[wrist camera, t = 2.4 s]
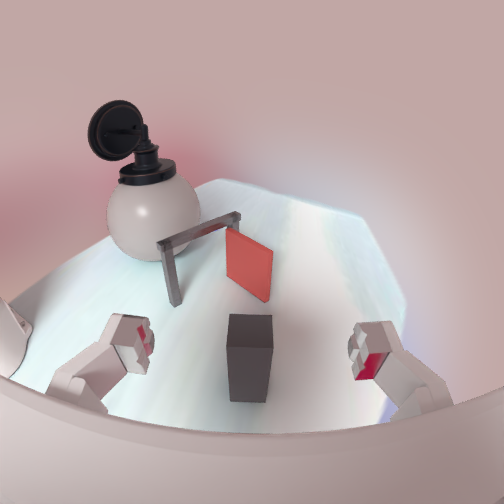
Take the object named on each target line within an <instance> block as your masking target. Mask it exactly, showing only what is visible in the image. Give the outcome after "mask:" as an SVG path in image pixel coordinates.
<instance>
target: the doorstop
mask: <svg viewBox="0 0 504 504" xmlns="http://www.w3.org/2000/svg"><path fill="white" fill-rule="evenodd" d="M226 350H227V365H228V379H229V393H230V401H233V402H266V395H267V389H268V382H269V375H270V368H271V361H272V354H273V329H272V315H246V314H230V316H229V325H228V335H227V345H226Z"/></svg>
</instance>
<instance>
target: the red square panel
mask: <svg viewBox="0 0 504 504" xmlns="http://www.w3.org/2000/svg"><path fill="white" fill-rule="evenodd" d="M272 260H273V251H272V250H270V249H268V248H267V247H265V246H263V245H261V244H259V243H258V242H256V241H254V240H252V239H250V238H249V237H247V236H245V235H243V234H241V233H239V232H238V231H236V230H234V229H232V228H227V229H226V264H227V276H228V277H229V278H231V279H232V280H233V281H235V282H236V283H238V284H239V285H240V286H242V287H243V288H245V289H246V290H247V291H249V292H250V293H252V294H253V295H255V296H256V297H257V298H259V299H260V300H262V301H263V302H265V303H266V302H267V301H269V295H270V284H271V272H272Z"/></svg>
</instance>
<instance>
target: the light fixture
mask: <svg viewBox="0 0 504 504" xmlns="http://www.w3.org/2000/svg"><path fill="white" fill-rule="evenodd" d="M88 142H89V145H90V147H91V149H92V151H93V152H94V153H95V154H96V155H97V156H98V157H100V158H101V159H104V160H107V161H119V160H122V159H124V158H126V157H128V156H129V155H130V154H131V153H134V155H135V162H134V163H131V164H128V165H126V166H124V167H123V168H121V169H120V171H119V173H120V179H118V182H119V184H118V185H117V187H116V188H115V189H114V191H113V193H112V195H111V197H110V199H109V202H108V206H107V214H106V220H107V227H108V230H109V233H110V235H111V237H112V239H113V241H114V242H115V244H116V245H117V246H118V247H119V248H120V249H121V250H122V251H123V252H124V253H126V254H127V255H129V256H131V257H133V258H135V259H138V260H143V261H160V260H162V259H161V254H160V251H159V250H158V249H157V244H156V242H158V241H160V240H163V239H165V238H167V237H170V236H172V235H175V234H177V233H180V232H182V231H185V230H187V229H190V228H192V227H195V226H198V225H199V222H200V204H199V200H198V198H197V195H196V193H195V191H194V189H193V188H192V186H191V185H190V184H189V183H188V182H187V181H186V180H185V179H184V178H183V177H182V176H181V175H179V174H178V173H176V164H175V162H174V161H173V160H170V159H162V158H160V159H159V158H158V152H157V151H158V148H159V146H158V145H154V144H153V143H151V140H150V139H149V137H148V126H147V125H146V124H143V118H142V115H141V113H140V112H139V110H138V109H137V107H136V106H135V105H133V104H131V103H130V102H127V101H124V100H115V101H111V102H108V103H106V104H104V105H103V106H101V107H100V108H99V109H98V110H97V111H96V112H95V113H94V115H93V117H92V118H91V121H90V123H89V127H88ZM191 241H192V240H191ZM191 241H189V242H187V243H184V244H182V245H180V246H177V247H175V248H173V253H174V256H175V255H176V254H178V253H180V252H181V251H182V250H184V249H185V248H186V247H187V246H188V245H189V244H190V242H191Z"/></svg>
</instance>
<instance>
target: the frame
mask: <svg viewBox="0 0 504 504" xmlns="http://www.w3.org/2000/svg"><path fill="white" fill-rule="evenodd" d="M240 220H241V214H240V213H238V212H236V211H234V212H231V213H229V214H226V215H223V216H221V217H218V218H216V219H213V220H210V221H208V222H205V223H203V224H200V225H198V226H195V227H192V228H190V229H187V230H185V231H182V232H180V233H177V234H175V235H172V236H170V237H167V238H165V239H163V240H160V241H158V242H156V244H157V249H158V250H159V251H160V254H161V259H162V265H163V270H164V276H165V281H166V286H167V291H168V296H169V300H170V303H171V304H172V305H173V307H174V308H175V307H177V306H178V305H180V304H182V303H181V297H180V291H179V285H178V279H177V273H176V267H175V260H174V253H173V248H175V247H177V246H180V245H182V244H184V243H187V242H189V241H191V240H194V239H196V238H199V237H201V236H203V235H206V234H208V233H211V232H213V231H215V230H218V229H220V228H223V227H225V226H227V228H232V229H234V230H236V231H238V232H239V221H240Z"/></svg>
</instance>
